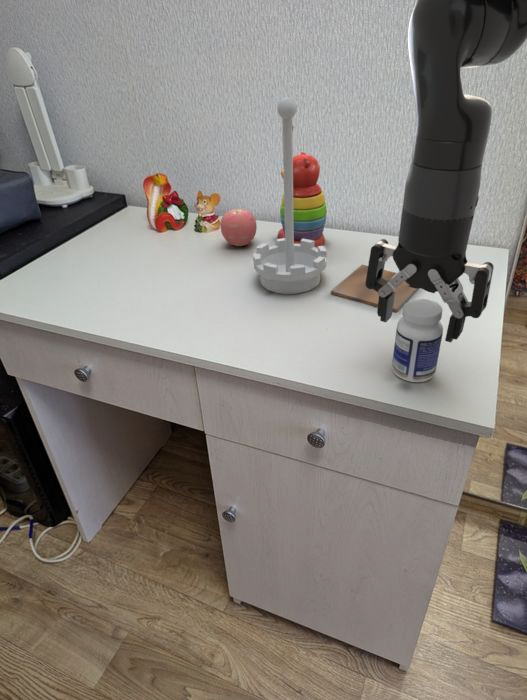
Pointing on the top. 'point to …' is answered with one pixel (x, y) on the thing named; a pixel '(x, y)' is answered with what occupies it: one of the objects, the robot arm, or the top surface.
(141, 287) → the top surface
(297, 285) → the grey countertop holder stand
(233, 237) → the apple
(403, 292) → the coaster
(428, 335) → the pill bottle
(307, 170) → the stacking bear
